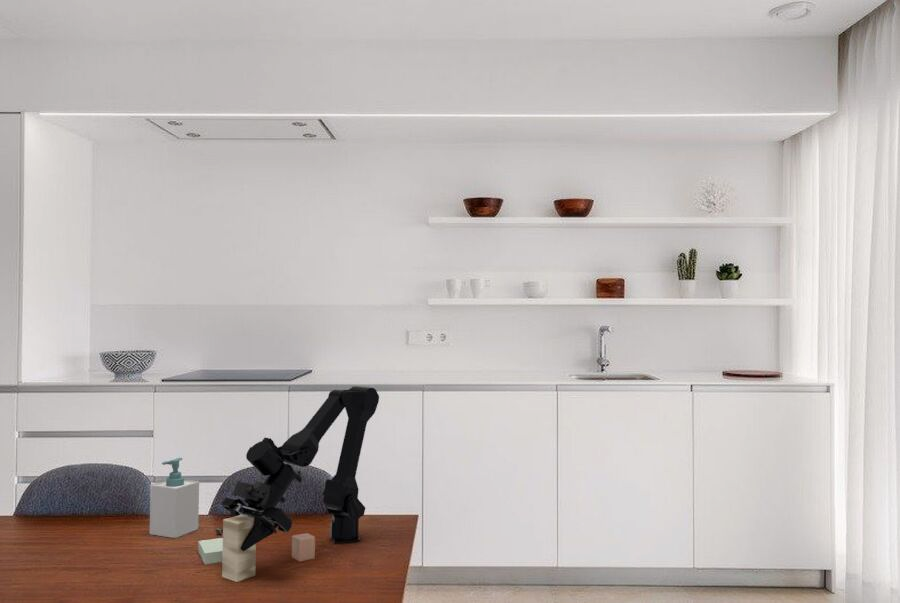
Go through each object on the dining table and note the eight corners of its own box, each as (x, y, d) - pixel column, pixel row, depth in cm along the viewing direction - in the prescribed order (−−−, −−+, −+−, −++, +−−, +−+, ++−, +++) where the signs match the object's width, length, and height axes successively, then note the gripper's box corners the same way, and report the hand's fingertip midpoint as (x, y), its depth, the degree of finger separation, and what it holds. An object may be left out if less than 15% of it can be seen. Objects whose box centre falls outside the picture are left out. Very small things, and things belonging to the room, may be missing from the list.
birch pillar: (240, 570, 164) (241, 514, 164) (255, 575, 161) (256, 518, 161) (222, 576, 160) (223, 519, 160) (236, 582, 157) (237, 523, 157)
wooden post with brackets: (247, 524, 196) (242, 510, 195) (224, 543, 190) (219, 529, 189) (243, 523, 197) (238, 509, 196) (220, 542, 191) (214, 528, 190)
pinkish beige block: (306, 553, 176) (307, 532, 176) (314, 558, 173) (315, 537, 173) (291, 557, 174) (292, 535, 174) (299, 561, 170) (299, 540, 171)
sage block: (240, 547, 181) (240, 535, 181) (248, 560, 172) (249, 547, 172) (198, 553, 177) (198, 540, 177) (204, 566, 168) (204, 553, 168)
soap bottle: (148, 534, 189) (150, 460, 189) (173, 525, 197) (174, 454, 197) (174, 538, 186) (176, 463, 186) (198, 529, 194) (200, 457, 194)
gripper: (228, 461, 170) (186, 519, 160) (283, 472, 159) (240, 535, 149) (255, 488, 176) (215, 546, 167) (309, 501, 165) (270, 564, 156)
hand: (234, 547), depth 160 cm, fingers closed on birch pillar, 5 cm apart
